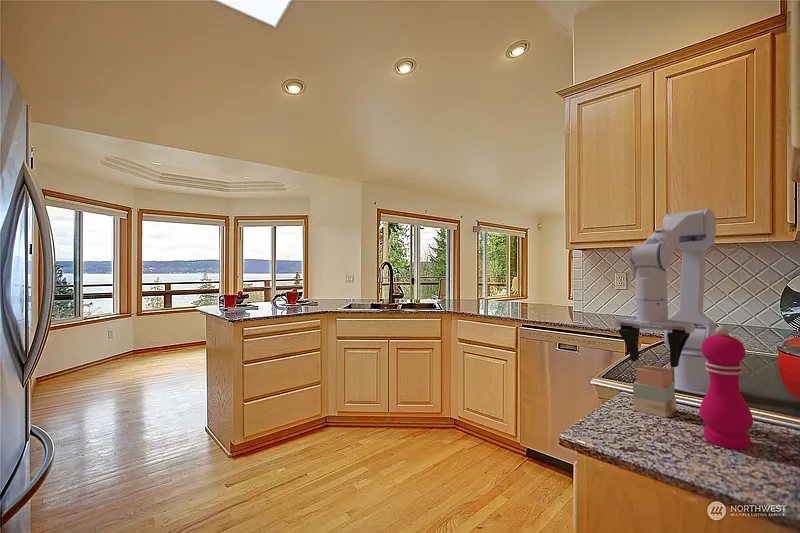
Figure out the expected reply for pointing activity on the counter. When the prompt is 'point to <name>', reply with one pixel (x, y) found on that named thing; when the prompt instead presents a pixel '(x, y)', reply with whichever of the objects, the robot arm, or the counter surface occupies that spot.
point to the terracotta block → (654, 376)
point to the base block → (655, 407)
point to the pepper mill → (725, 393)
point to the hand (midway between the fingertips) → (654, 363)
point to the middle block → (654, 392)
